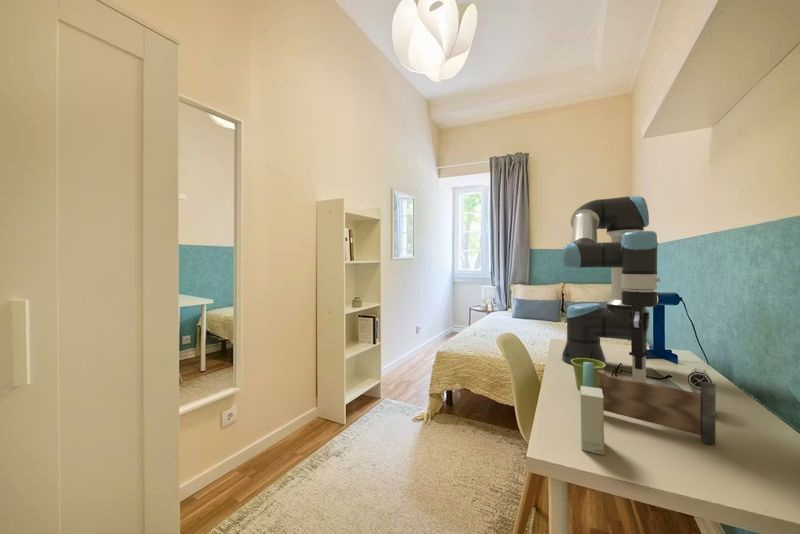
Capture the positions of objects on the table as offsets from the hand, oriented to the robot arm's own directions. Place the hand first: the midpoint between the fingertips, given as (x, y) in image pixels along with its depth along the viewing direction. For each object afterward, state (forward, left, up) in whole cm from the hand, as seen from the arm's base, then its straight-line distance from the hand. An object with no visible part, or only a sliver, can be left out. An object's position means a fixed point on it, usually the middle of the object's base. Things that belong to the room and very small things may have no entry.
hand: (639, 380), depth 84 cm
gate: (+6, +3, -9) cm, 11 cm away
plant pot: (-10, -14, -10) cm, 20 cm away
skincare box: (+24, -6, -10) cm, 26 cm away
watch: (-14, +12, -10) cm, 21 cm away
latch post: (+6, -11, -9) cm, 15 cm away
